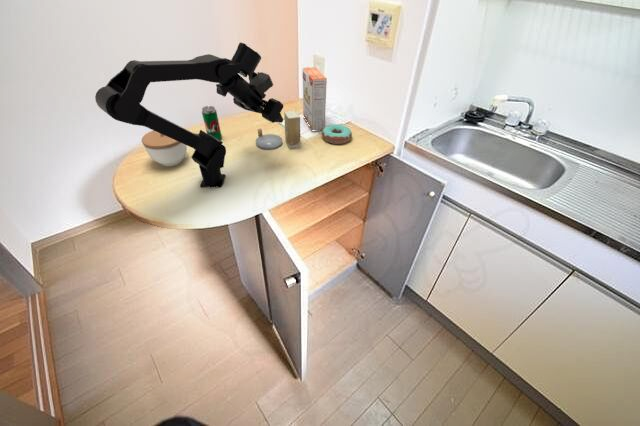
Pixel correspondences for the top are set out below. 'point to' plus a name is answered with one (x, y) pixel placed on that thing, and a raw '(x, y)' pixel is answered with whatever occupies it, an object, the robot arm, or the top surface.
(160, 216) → the top surface
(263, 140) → the flange disc
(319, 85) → the cracker box
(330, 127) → the donut
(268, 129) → the top surface
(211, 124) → the soda can
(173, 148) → the lidded bowl
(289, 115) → the skincare box
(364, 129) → the top surface
